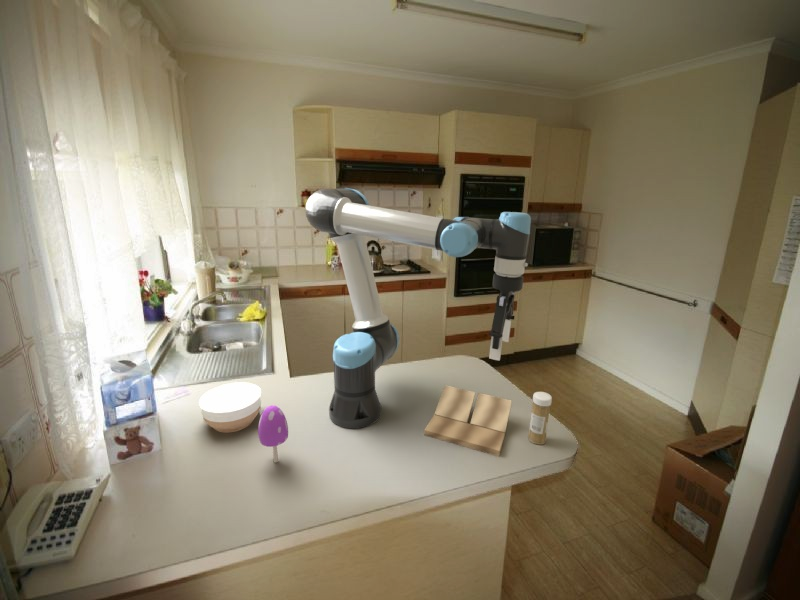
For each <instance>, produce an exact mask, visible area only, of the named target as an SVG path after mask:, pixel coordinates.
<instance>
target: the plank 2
mask: <svg viewBox="0 0 800 600" xmlns="http://www.w3.org/2000/svg"><path fill="white" fill-rule="evenodd" d="M512 403H513V400H511V399H507V398H504V397H503V398H502V397H498V396H493V395H489V394H485V393H482V392H481V393H480V392H478V394H477V398H476V402H475V405H474V410H473V412H472V416H471V419H470V422H469V424H472V425H476V426H480V427H483V428H487V429H491V430H495V431H499V432H503V433H505V434H506V432H507V427H508V422H509V417H510V414H511V413H510V412H511V408H512Z"/></svg>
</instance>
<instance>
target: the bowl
mask: <svg viewBox="0 0 800 600" xmlns="http://www.w3.org/2000/svg"><path fill="white" fill-rule="evenodd" d="M261 396H262V389H261V387H259V386H258V385H256V384H253V383H251V382H240V381H239V382H238V381H237V382H230V383H225V384H222V385H219V386H215V387H214V388H211V389H209V390H208V391H206V392H204V394H202V396H201V397H200V399H198V400H199V401H198V407H199V408H200V409H201V412H200V413H201V416H202V418H203V421H204V422H205V423H206V424H207V425H208V426H209V427H211V428H213V429H214V430H215V431H216V432H218V433H227V434H229V433H235V432H238V431H240V430H241V431H242V430H244V429H245V428H247V427H248V426H250V425H251V424H252V423H253V422H254V419H255V418H256V417H257V415H258V414H259V412H260V410H261V405H262V400H261V399H262V398H261Z"/></svg>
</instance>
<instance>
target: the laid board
mask: <svg viewBox="0 0 800 600" xmlns="http://www.w3.org/2000/svg"><path fill="white" fill-rule="evenodd" d="M423 435H424V436H426V437H430V438H433V439H437V440H440V441H444V442H448V443H450V444H454V445H459V446H460V447H461V446H462V447H466V448H468V449H472V450H476V451H479V452H481V453H482V452H483V453H486V454H490V455H494V456H497V457H500V454H501V451H502V447H503V443H504V440H505V437H506V432H505V433H503V432H499V431H495V430H491V429H487V428H483V427H480V426H476V425H472V424H470V423H464V422H460V421H456V420H453V419H449V418H445V417H441V416H437V415H435V414H433V416H432V417H431V419H430V421H429V422H428V424H427V425H426V427H425V428H424V432H423Z"/></svg>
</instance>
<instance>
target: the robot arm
mask: <svg viewBox="0 0 800 600" xmlns="http://www.w3.org/2000/svg"><path fill="white" fill-rule="evenodd" d="M304 211H305V216H306V217H305V218H306V220H307V221H308V223H309V225H311V227H313V228H314V229H315V230H317V231H319V232H321V233H328V235H329V238H330V240H331V241H332V242H334V243H336V245H337V249H338V253H339V258H340V262H341V265H342V270H343V274H344V278H345V282H346V286H347V290H348V294H349V297H350V302H351V305H352V306H351V307H352V311H353V314H354V315H353V316H354V319H355V321H353V324H352V327H351V328H352V330H353V332H350V333H345V334H343V335H341V336H339V337H338V338H337V339H336V340H335V342H334V344H333V351H332V360H333V361H332V362H333V381H334V383H333V384H334V386H333V387H334V392H333V395H332V397H331V400H330V404H329V407H328V414H329V419H330V421H331V422H332V423H333V424H335V426H338V427H341V428H346V429H361V428H365V427H367V426H370V425H372V424H375V423H376V422H377V421H378V420H379V419H380V417H381V415H382V405H381V402H380V399H379V395H378V394H377V390H376V372H377V371H378V369H379V368H380V367H382V365H384V363H386V362H387V360H389V359H391V358H392V357H393V356H394V354H395V353H396V351H397V350H398V347H399V346H400V334H399V332H398V329H397V327H395V325H393V324H392V323H391V322H390V319H389V316H388V315H386V314H384V312H383V309H382V305H381V300H380V296H379V292H378V287H377V284H376V278H375V274H374V269H373V265H372V261H371V257H370V252H369V249H368V243H367V240H366V237H370V238H375V239H380V240H385V241H390V242H391V241H392V242H395V243H400V244H406V245H411V246H416V247H421V248H427V249H430V250H436V251H439V252H444V253H445V254H447V255H448V256H449V257H452V258H462V257H465V256H468V255H470V254H471V253H472V252H474V250H476V249H489V250H495V251H496V252H495V258H494V264H493V265H494V267H493V271H494V272H495V273H493V276H492V277H493V278H492V285H491V286H492V287H493V288H494V289H495V290H498V291H500V293H498V295H497V297H496V303H495V310H494V314H493V320H492V324H491V330H490V331H489V332H488V336H490V337H491V339H490V347H489V355H488V359H491V360H494V361H500V360H501V354H502V346H503V342H505V343H509V341H510V335H511V328H512V327H511V325H512V320H515V315H514V302H515V297H516V296H515V292H520V291H522V290H523V285H524V276H523V275H524V274H525V267H528V265H529V263H527V262H526V260H527V254H528V247H529V241H530V235H531V222H532V217H531V216H530V214H529V213H526V212H517V211H512V212H511V211H503V212H500V216H499V218H498V219H491V218H480V217H469V216H456V217H454V218H453V219H449V218H443V217H438V216H432V215H426V214H421V213H415V212H408V211H402V210H396V209H391V208H387V207H380V206H376V205H375V206H373V205H370V202H369V201H368V199H367V197H366V196H365V195H364V194H363V193H361V192H360V191H359V190H357V189H353V188H348V187H344V188H321V189H318V190H316V191H314V192H313V193H312V194H311V195H310V196H309V197H308V198H307V201H306V203H305V208H304Z"/></svg>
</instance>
